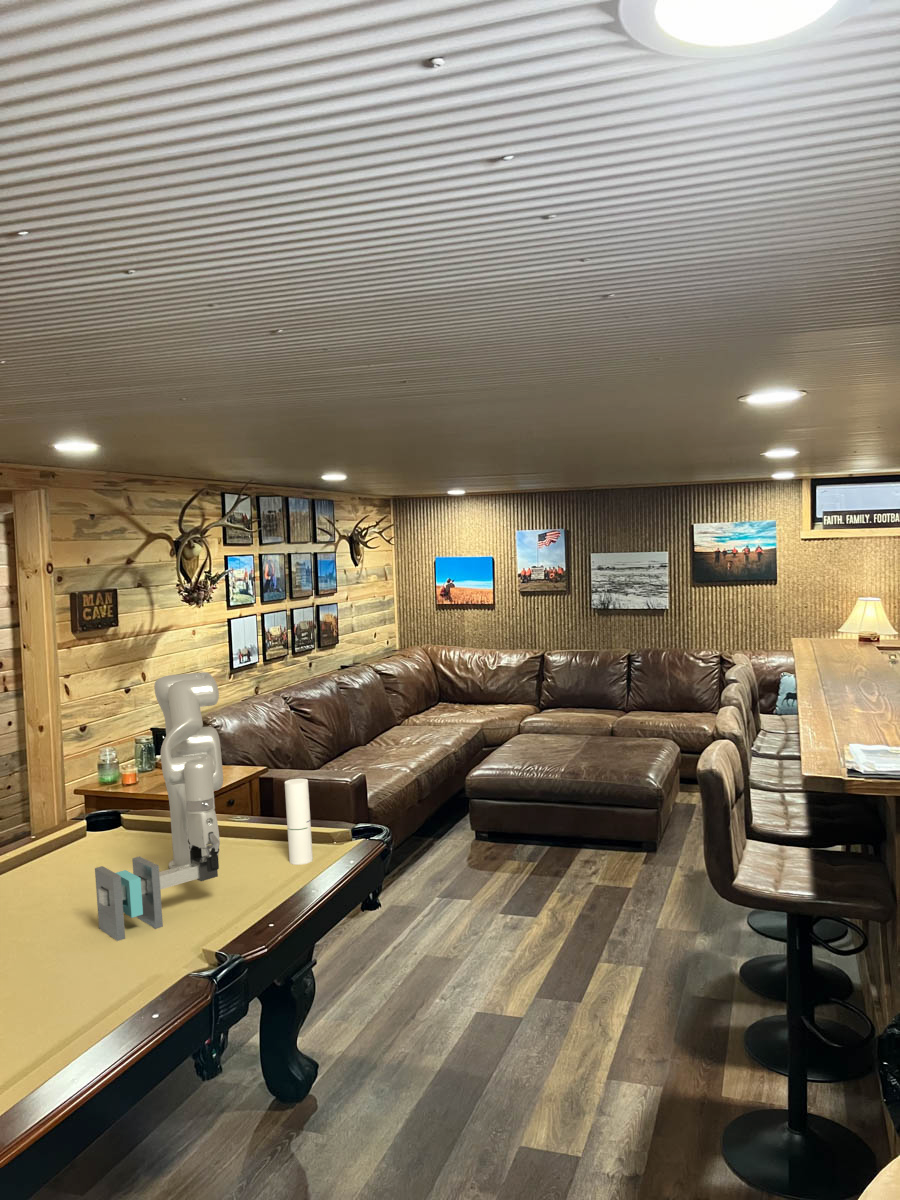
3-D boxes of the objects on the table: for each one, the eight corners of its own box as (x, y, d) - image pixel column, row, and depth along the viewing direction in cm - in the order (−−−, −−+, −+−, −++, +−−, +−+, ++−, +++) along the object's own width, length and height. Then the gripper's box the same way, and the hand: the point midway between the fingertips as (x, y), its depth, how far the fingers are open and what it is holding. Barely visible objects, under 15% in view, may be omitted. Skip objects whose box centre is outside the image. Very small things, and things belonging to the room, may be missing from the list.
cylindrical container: (317, 858, 289) (312, 779, 288) (304, 865, 282) (299, 784, 281) (298, 856, 292) (293, 778, 291) (285, 863, 285) (279, 783, 284)
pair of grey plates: (143, 915, 248) (139, 856, 247) (162, 926, 239) (158, 865, 238) (99, 928, 240) (94, 868, 239) (117, 941, 231) (112, 878, 230)
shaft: (209, 872, 257) (208, 854, 257) (217, 876, 253) (216, 858, 253) (98, 904, 236) (97, 885, 236) (105, 909, 233) (104, 889, 232)
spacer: (128, 905, 244) (125, 870, 243) (143, 914, 237) (140, 877, 236) (116, 908, 242) (114, 873, 241) (131, 917, 235) (129, 881, 234)
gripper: (228, 806, 249) (232, 869, 249) (198, 797, 261) (202, 857, 262) (202, 812, 244) (206, 876, 244) (173, 803, 256) (177, 864, 257)
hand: (204, 866), depth 253 cm, fingers open, 9 cm apart
